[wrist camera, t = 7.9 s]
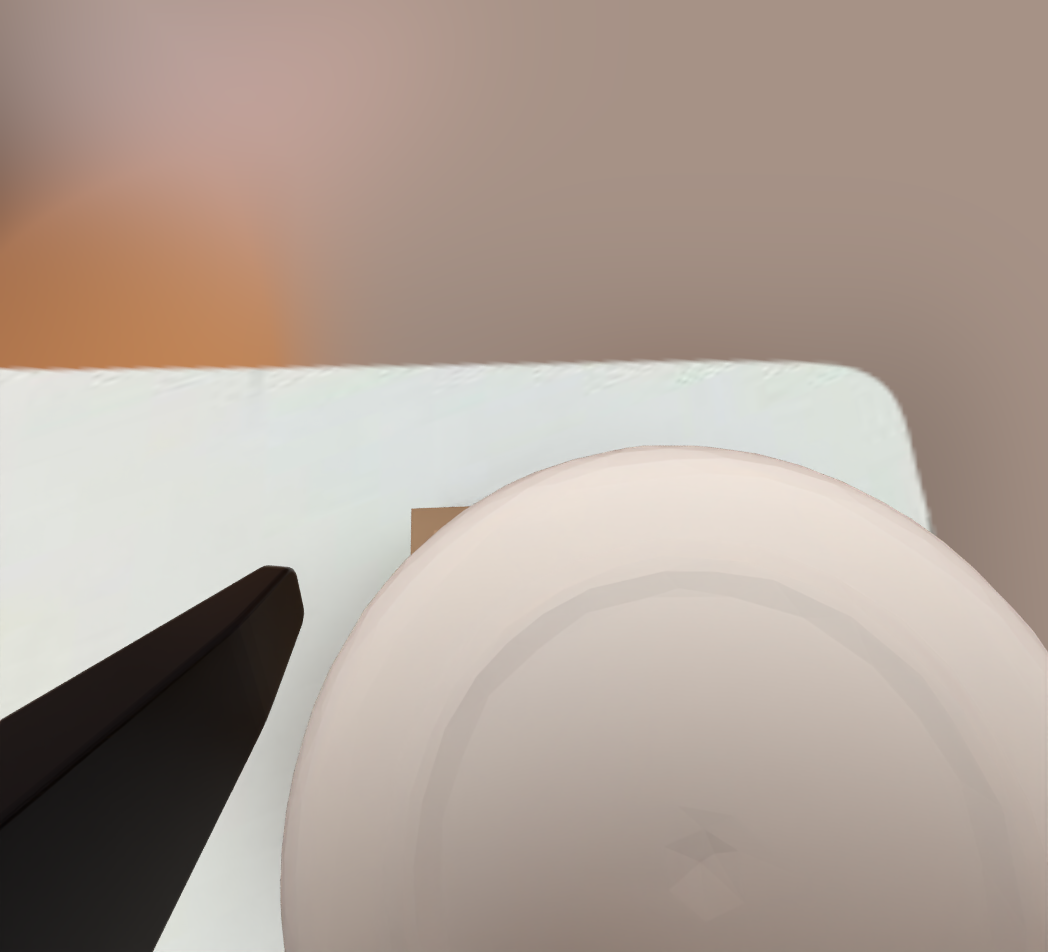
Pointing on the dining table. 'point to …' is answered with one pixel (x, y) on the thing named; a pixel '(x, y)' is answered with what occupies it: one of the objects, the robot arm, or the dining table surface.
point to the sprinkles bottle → (676, 730)
